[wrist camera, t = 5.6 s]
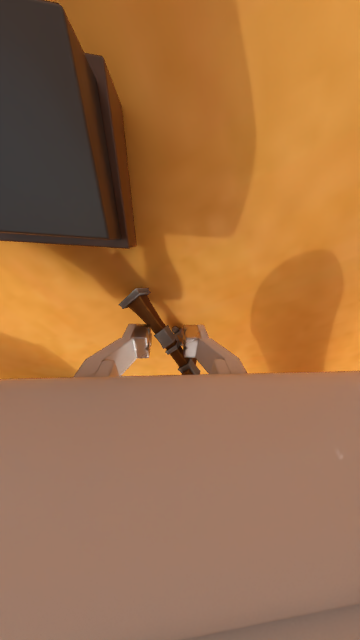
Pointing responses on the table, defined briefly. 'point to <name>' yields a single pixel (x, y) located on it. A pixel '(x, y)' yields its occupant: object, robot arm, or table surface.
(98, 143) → the mallet
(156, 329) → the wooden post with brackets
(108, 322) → the table surface
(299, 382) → the robot arm
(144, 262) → the table surface
